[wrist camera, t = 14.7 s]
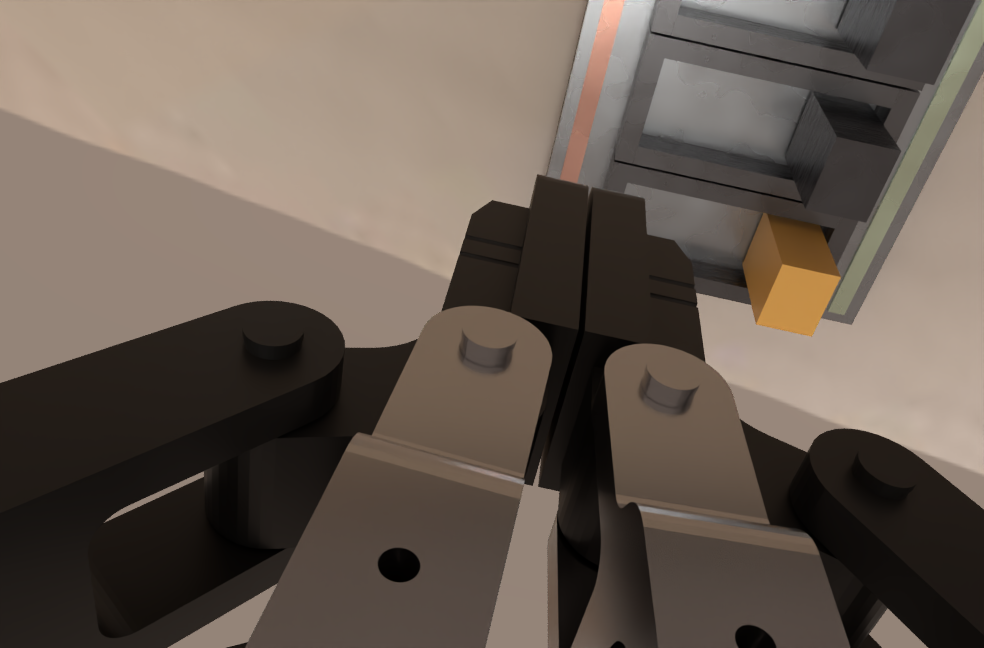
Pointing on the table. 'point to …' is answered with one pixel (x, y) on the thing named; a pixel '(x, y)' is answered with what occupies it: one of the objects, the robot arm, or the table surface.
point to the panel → (769, 121)
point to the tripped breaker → (789, 274)
